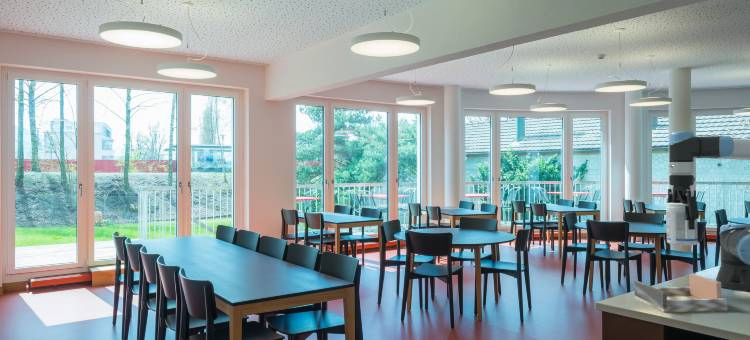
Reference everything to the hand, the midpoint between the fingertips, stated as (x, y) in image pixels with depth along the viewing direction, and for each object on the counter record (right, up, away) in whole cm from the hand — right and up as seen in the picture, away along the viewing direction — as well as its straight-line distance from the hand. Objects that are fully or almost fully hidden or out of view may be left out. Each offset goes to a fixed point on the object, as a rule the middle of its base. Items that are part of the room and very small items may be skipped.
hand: (681, 236), depth 185 cm
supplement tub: (0, -3, 0) cm, 3 cm away
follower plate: (-1, -19, -15) cm, 24 cm away
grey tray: (-10, -20, -15) cm, 27 cm away
